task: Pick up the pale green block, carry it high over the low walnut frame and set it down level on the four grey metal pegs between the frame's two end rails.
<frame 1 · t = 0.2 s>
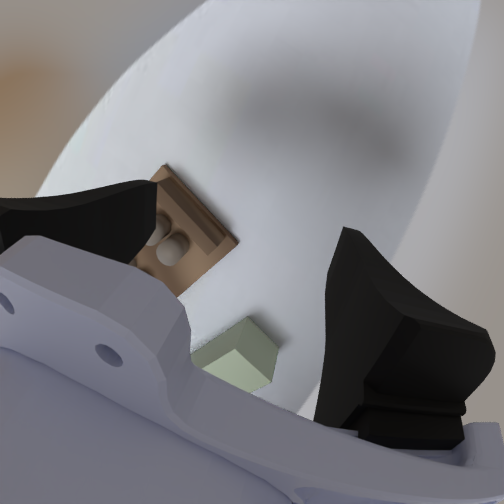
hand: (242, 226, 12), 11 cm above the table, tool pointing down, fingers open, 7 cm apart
peg frame: (154, 251, 26), on the table
pale green block: (231, 351, 28), on the table
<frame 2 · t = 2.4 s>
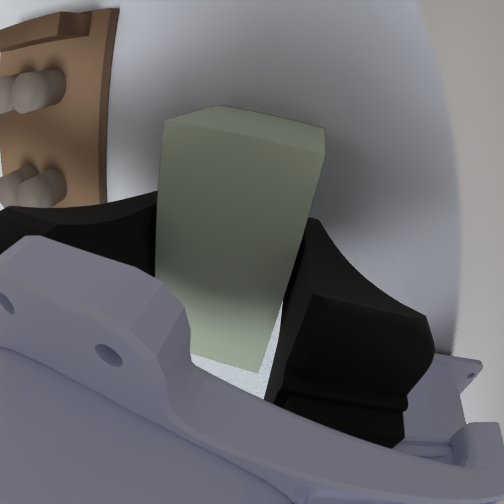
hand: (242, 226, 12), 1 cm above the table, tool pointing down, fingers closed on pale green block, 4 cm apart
peg frame: (47, 133, 13), on the table
pale green block: (250, 211, 13), on the table, touching gripper
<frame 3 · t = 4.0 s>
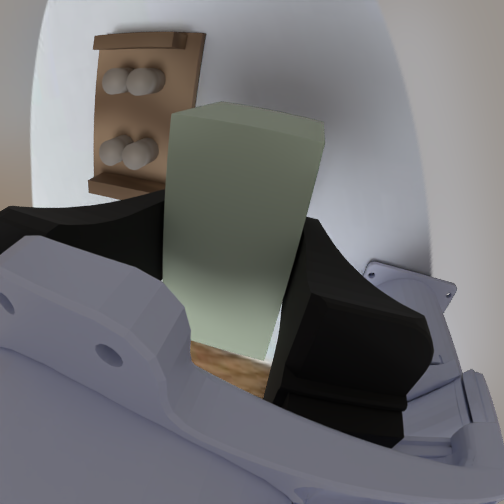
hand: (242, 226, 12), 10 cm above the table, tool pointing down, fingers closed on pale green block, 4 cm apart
peg frame: (142, 113, 20), on the table
pale green block: (254, 203, 13), point 8 cm above the table, touching gripper
when the fingers open (5 cm above the table, at t = 5.9 s): pale green block stays where it is, resting on peg frame.
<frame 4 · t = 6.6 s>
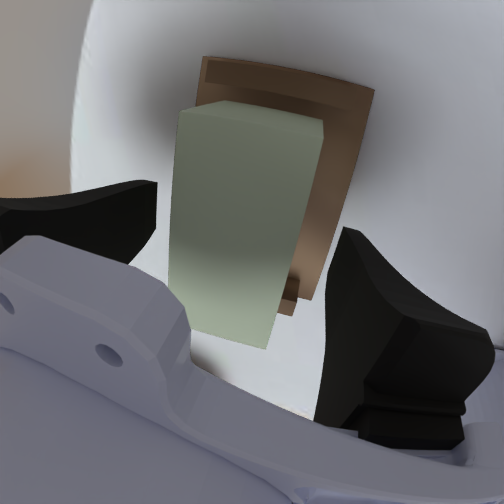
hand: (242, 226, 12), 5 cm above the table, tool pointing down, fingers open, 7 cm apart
peg frame: (265, 183, 16), on the table
pale green block: (255, 198, 14), point 3 cm above the table, touching peg frame
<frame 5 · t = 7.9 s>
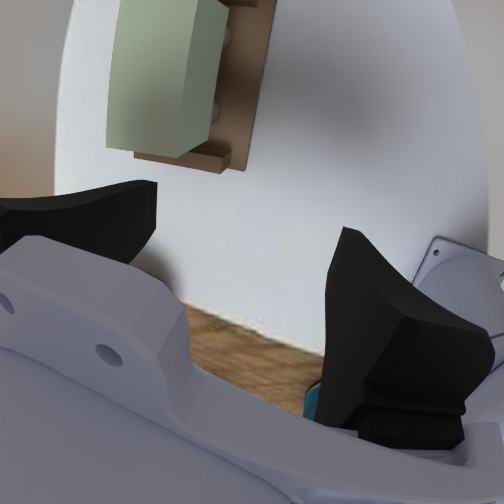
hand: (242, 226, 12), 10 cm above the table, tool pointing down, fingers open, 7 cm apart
peg frame: (200, 73, 18), on the table
beverage bottle: (342, 395, 31), on the table
pale green block: (184, 70, 16), point 3 cm above the table, touching peg frame
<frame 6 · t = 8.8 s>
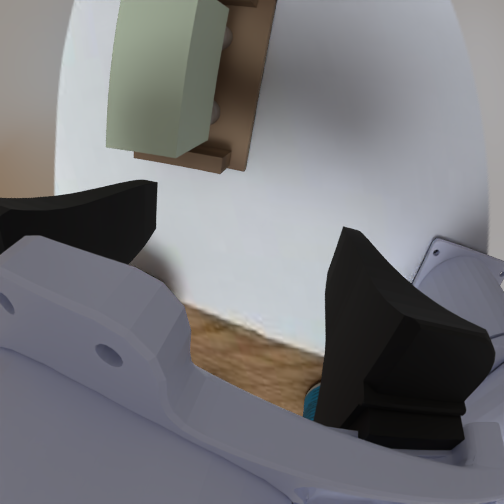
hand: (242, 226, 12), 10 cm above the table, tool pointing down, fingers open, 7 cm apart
peg frame: (200, 73, 18), on the table
beverage bottle: (342, 395, 31), on the table
pale green block: (184, 70, 16), point 3 cm above the table, touching peg frame
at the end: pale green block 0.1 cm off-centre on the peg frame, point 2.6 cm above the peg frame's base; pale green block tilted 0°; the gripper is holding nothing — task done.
